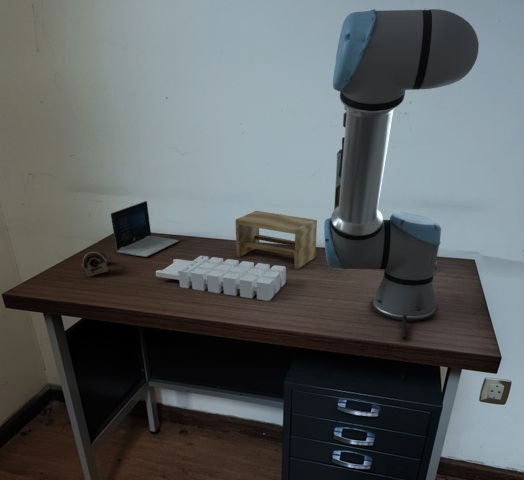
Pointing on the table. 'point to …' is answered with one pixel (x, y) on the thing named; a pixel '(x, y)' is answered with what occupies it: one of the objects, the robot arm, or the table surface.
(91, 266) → the brown rounded piece
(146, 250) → the laptop
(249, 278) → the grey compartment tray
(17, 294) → the table surface
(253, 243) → the two-tier rack
